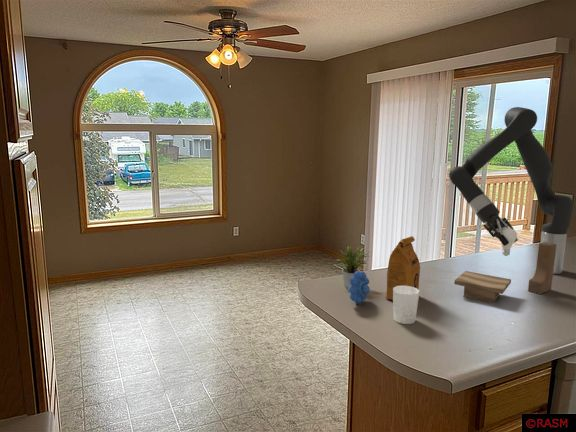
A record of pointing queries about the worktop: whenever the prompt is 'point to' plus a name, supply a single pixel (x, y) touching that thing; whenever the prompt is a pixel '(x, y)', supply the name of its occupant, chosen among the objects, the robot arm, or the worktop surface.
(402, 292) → the white cup
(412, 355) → the worktop surface
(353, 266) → the house plant
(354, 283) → the grapes
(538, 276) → the wooden block
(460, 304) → the worktop surface
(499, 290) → the stand
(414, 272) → the coffee package
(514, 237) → the lightbulb
